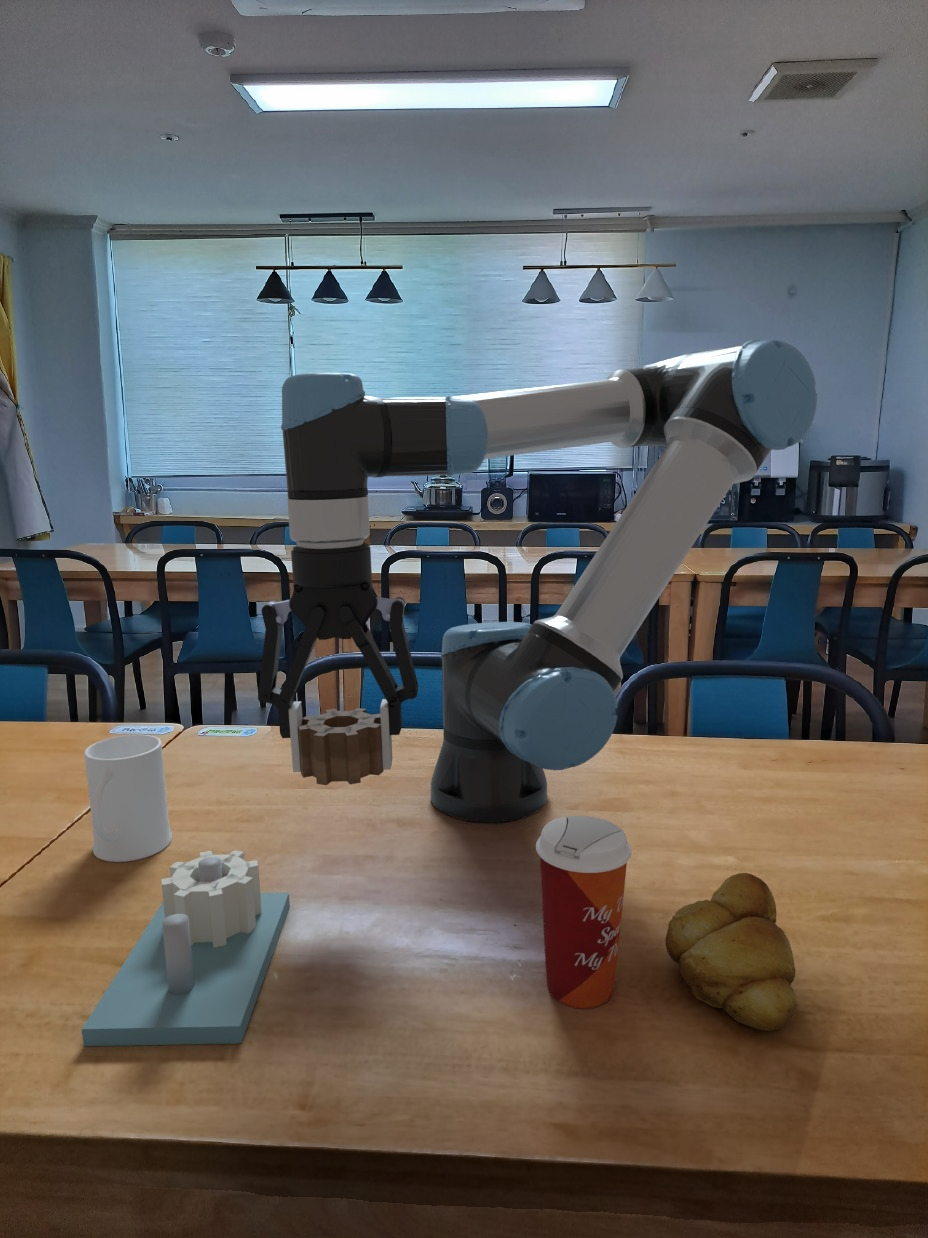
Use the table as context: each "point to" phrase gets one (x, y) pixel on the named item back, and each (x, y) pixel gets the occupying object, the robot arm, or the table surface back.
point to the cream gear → (214, 897)
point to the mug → (127, 797)
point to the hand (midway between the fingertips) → (343, 765)
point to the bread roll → (736, 953)
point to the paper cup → (582, 906)
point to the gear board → (202, 1004)
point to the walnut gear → (340, 746)
